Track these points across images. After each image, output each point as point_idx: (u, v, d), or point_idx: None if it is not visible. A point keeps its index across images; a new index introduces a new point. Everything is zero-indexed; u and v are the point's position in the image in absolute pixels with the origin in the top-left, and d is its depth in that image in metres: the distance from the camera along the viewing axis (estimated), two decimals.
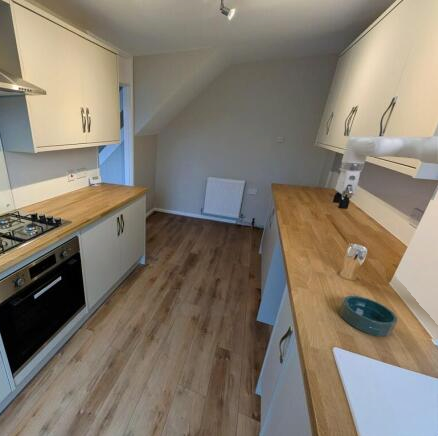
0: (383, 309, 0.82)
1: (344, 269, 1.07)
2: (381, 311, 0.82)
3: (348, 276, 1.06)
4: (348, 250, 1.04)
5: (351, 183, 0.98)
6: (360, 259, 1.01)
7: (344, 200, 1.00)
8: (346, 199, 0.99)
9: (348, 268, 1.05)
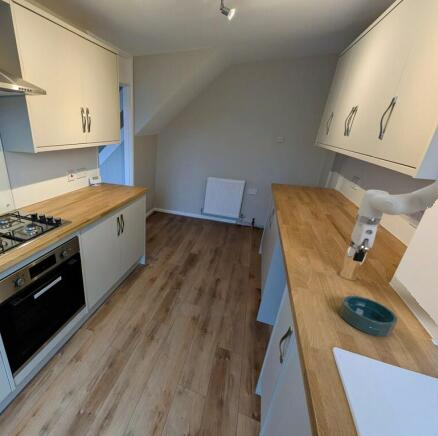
0: (383, 309, 0.82)
1: (344, 269, 1.07)
2: (381, 311, 0.82)
3: (348, 276, 1.06)
4: (348, 250, 1.04)
5: (368, 237, 0.96)
6: None
7: (359, 253, 1.00)
8: (361, 253, 0.99)
9: (348, 268, 1.05)
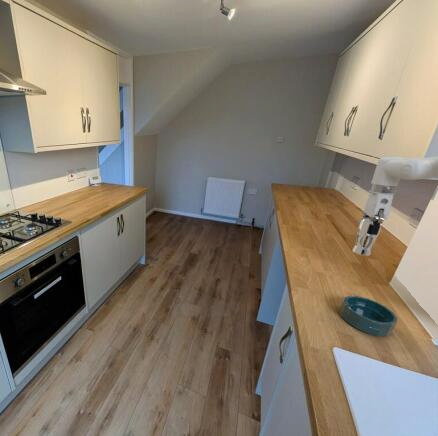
0: (383, 309, 0.82)
1: (357, 244, 1.00)
2: (381, 311, 0.82)
3: (361, 252, 0.99)
4: (361, 223, 0.98)
5: (383, 207, 0.90)
6: None
7: (374, 226, 0.93)
8: (376, 225, 0.93)
9: (361, 243, 0.99)
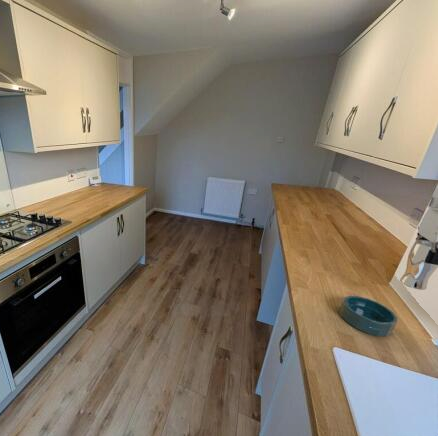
0: (383, 309, 0.82)
1: (409, 274, 0.78)
2: (381, 311, 0.82)
3: (415, 284, 0.77)
4: (416, 248, 0.75)
5: None
6: None
7: (436, 253, 0.71)
8: None
9: (415, 273, 0.77)
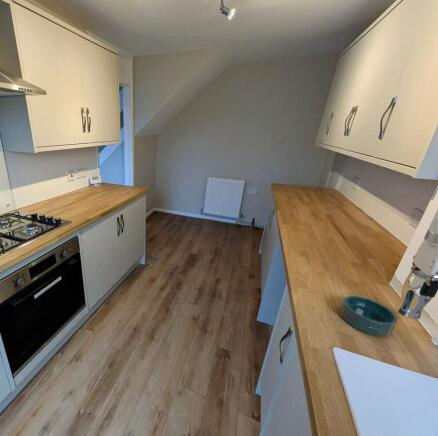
0: (383, 309, 0.82)
1: (404, 304, 0.79)
2: (381, 311, 0.82)
3: (410, 314, 0.78)
4: (411, 279, 0.76)
5: None
6: None
7: (430, 286, 0.72)
8: (434, 286, 0.71)
9: (409, 303, 0.78)
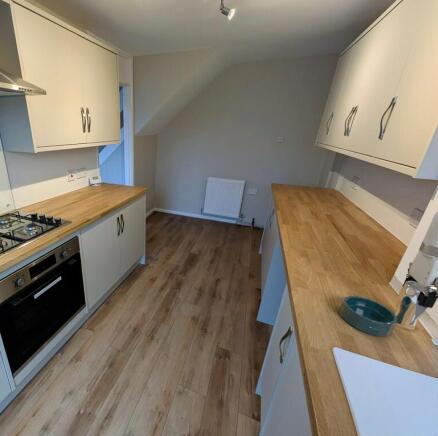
0: (383, 309, 0.82)
1: (399, 314, 0.80)
2: (381, 311, 0.82)
3: (405, 324, 0.79)
4: (406, 290, 0.78)
5: None
6: None
7: (429, 297, 0.72)
8: (433, 297, 0.71)
9: (404, 314, 0.79)
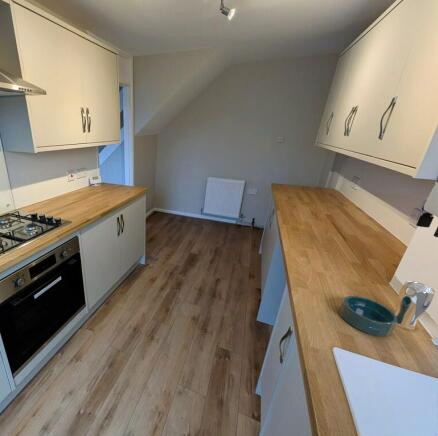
0: (383, 309, 0.82)
1: (399, 314, 0.80)
2: (381, 311, 0.82)
3: (405, 324, 0.79)
4: (406, 290, 0.78)
5: None
6: (424, 304, 0.75)
7: None
8: None
9: (404, 314, 0.79)
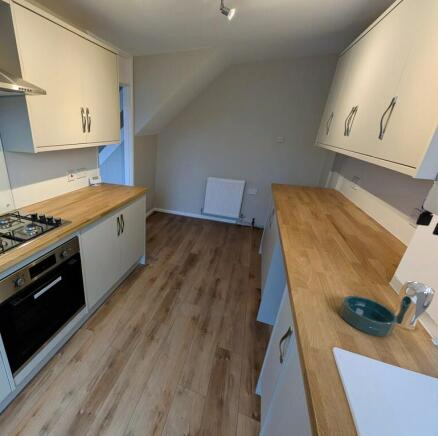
0: (383, 309, 0.82)
1: (399, 314, 0.80)
2: (381, 311, 0.82)
3: (405, 324, 0.79)
4: (406, 290, 0.78)
5: None
6: (424, 304, 0.75)
7: None
8: None
9: (404, 314, 0.79)
